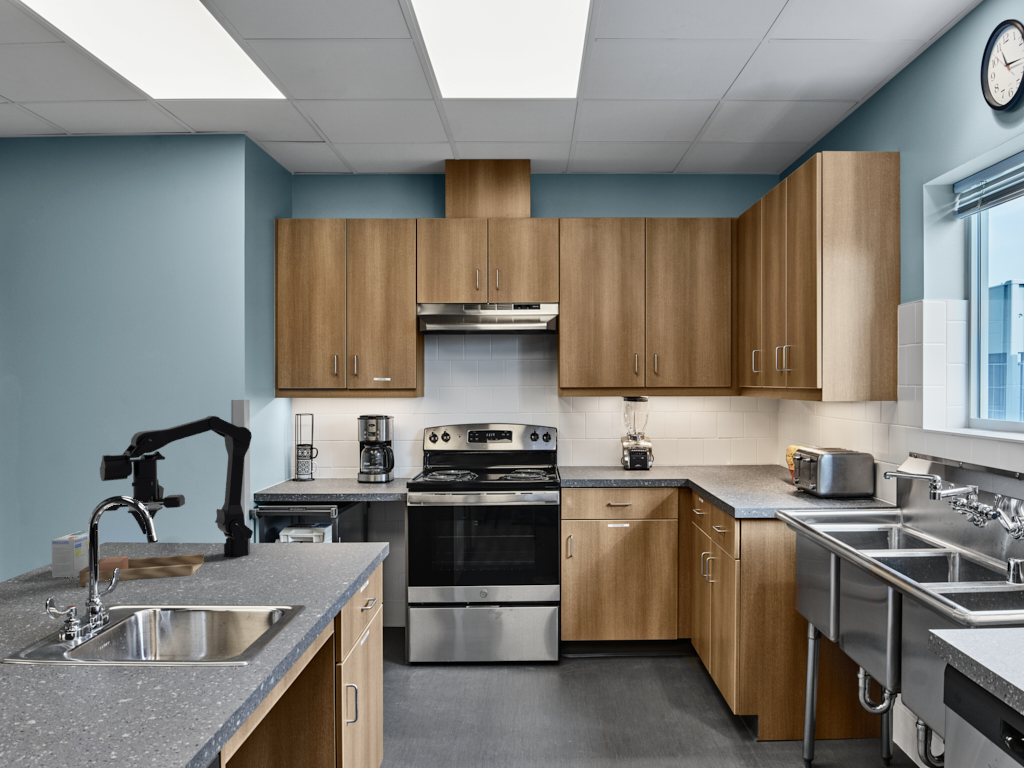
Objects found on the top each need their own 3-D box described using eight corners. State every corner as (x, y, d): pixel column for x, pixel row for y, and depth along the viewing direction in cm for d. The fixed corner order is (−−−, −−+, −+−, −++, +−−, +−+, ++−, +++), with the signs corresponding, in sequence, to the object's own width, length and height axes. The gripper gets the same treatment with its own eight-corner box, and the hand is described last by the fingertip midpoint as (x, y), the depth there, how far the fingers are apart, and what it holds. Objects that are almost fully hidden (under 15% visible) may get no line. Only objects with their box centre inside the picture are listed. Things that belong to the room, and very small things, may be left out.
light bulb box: (78, 567, 186) (78, 530, 186) (101, 567, 186) (100, 530, 186) (50, 578, 176) (50, 539, 176) (74, 578, 175) (74, 538, 176)
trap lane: (204, 565, 185) (203, 551, 186) (191, 578, 173) (191, 563, 173) (100, 573, 180) (100, 558, 180) (79, 586, 167) (79, 571, 167)
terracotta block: (128, 570, 178) (128, 556, 178) (120, 576, 172) (119, 561, 172) (108, 571, 177) (108, 557, 177) (99, 578, 171) (99, 563, 171)
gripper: (190, 472, 186) (190, 526, 186) (119, 475, 183) (119, 530, 182) (178, 477, 176) (179, 534, 175) (102, 480, 172) (103, 538, 171)
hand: (145, 534), depth 176 cm, fingers closed
